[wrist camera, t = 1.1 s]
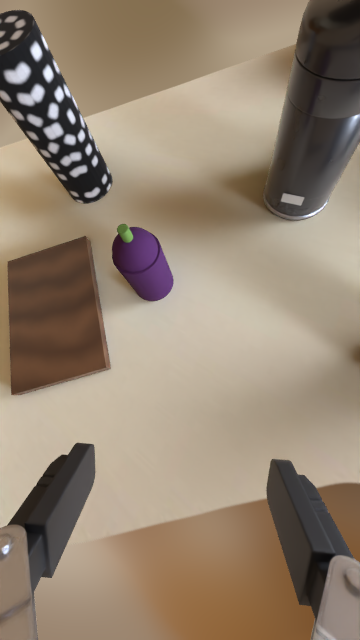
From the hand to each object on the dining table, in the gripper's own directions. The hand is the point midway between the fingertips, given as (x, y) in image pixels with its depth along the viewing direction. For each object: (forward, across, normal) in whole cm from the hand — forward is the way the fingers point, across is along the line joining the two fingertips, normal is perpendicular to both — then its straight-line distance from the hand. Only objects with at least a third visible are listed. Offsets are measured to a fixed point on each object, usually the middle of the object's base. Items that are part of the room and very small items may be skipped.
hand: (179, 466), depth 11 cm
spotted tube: (+40, +20, -22) cm, 49 cm away
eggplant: (+28, +6, -6) cm, 29 cm away
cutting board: (+28, +21, 0) cm, 34 cm away
